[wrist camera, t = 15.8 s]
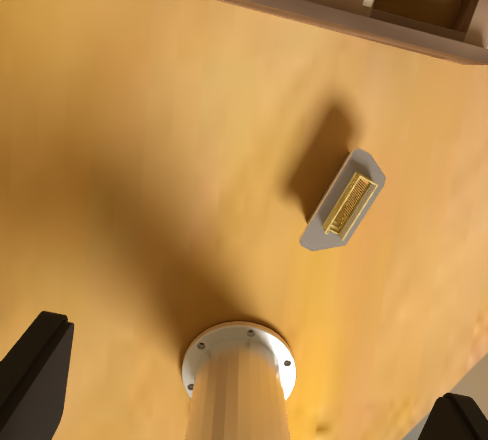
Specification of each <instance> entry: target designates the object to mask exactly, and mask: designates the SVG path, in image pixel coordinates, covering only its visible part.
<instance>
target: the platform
mask: <svg viewBox="0 0 488 440" xmlns="http://www.w3.org/2000/svg"><path fill="white" fill-rule="evenodd" d="M356 173H357V174H358V175H359V176H358V175H357V174H356ZM356 176H357V177H358V178H357V177H356ZM360 177H361V178H363V179H364V180H366V181H368V182H369V184H367V185H368V186H367V185H366V184H365V183H364V182H363V181H362V180H361V179H360ZM355 178H356V179H357V180H356V179H355ZM359 179H360V180H361V181H362V182H363V183H364V185H365V186H366V187H365V186H364V185H363V184H362V183H361V182H360V181H359ZM385 179H386V178H385V175H384V174H383V172H382V171H381V169H380V168H379V166H378V165H377V163H376V162H375V160H374V159H373V157H372V156H371V155H370V154H369V153H368V152H366V151H364V150H362V149H360V148H354V149H353V150H352V151H351V153H349V152H348V154H347V156H346V157H345V159H344V161H343V162H342V164H341V166H340V167H339V169H338V171H337V172H336V174H335V176H334V177H333V179H332V181H331V182H330V184H329V186H328V187H327V189H326V191H325V192H324V194H323V196H322V197H321V199H320V201H319V202H318V204H317V206H316V207H315V209H314V211H313V212H312V214H311V216H310V217H309V219H308V221H307V226H306V228H305V230H304V231H303V233H302V235H301V236H300V238H299V242H300V244H301V246H303V247H305V248H307V249H309V250H311V251H317V250H322V249H327V248H333V247H338V246H344V245H346V244H347V242H348V241H349V239H350V238H351V236H352V235H353V233H354V231H355V230H356V228H357V227H358V225H359V224H360V222H361V221H362V219H363V217H364V216H365V214H366V213H367V211H368V210H369V208H370V207H371V205H372V203H373V202H374V200H375V199H376V197H377V196H378V194H379V192H380V191H381V189H382V188H383V186H384V183H385ZM354 180H355V181H356V182H355V181H354ZM358 181H359V182H360V183H361V184H362V185H363V186H364V188H365V189H364V188H363V187H362V186H361V185H360V184H359V183H358ZM353 182H354V183H355V184H354V183H353ZM357 183H358V184H359V185H360V186H361V187H362V188H363V190H364V191H363V190H362V189H361V188H360V187H359V186H358V184H357ZM353 185H354V186H353ZM356 185H357V186H358V187H359V188H360V189H361V190H362V191H363V193H362V192H361V191H360V190H359V189H358V187H357V186H356ZM355 187H356V188H357V189H358V190H359V191H360V192H361V193H362V195H361V194H360V193H359V192H358V190H357V189H356V188H355ZM354 188H355V190H356V191H357V192H358V193H359V194H360V195H361V197H360V196H359V195H358V193H357V192H356V191H355V190H354ZM353 190H354V191H355V193H356V194H357V195H358V196H359V197H360V198H358V197H357V195H356V194H355V193H354V192H353ZM352 192H353V193H354V195H355V196H356V197H357V198H358V199H359V200H357V198H356V197H355V196H354V195H353V193H352ZM350 193H351V194H352V195H353V196H354V198H355V199H356V200H357V201H358V202H356V200H355V199H354V198H353V197H352V195H351V194H350ZM349 195H350V196H351V197H352V198H353V199H354V201H355V202H356V203H355V202H354V201H353V200H352V198H351V197H350V196H349ZM349 197H350V199H351V200H352V201H353V203H354V204H355V205H354V204H353V203H352V201H351V200H350V199H349ZM348 199H349V201H350V202H351V203H352V205H353V206H354V207H353V206H352V205H351V203H350V202H349V201H348ZM347 202H349V204H350V205H351V206H352V208H353V209H352V208H351V207H350V205H349V204H348V203H347ZM346 204H348V206H349V207H350V208H351V210H352V211H351V210H350V208H349V207H348V206H347V205H346ZM346 206H347V207H348V209H349V210H350V212H351V213H350V212H349V210H348V209H347V207H346ZM345 208H346V209H347V211H348V212H349V214H348V212H347V211H346V210H345ZM345 211H346V212H345ZM343 213H345V214H346V213H347V214H348V215H347V214H346V216H347V217H348V218H347V217H346V216H345V215H344V214H343ZM344 216H345V218H346V219H345V218H344ZM342 217H343V218H344V219H342ZM342 220H343V221H342ZM344 220H345V221H344ZM341 222H342V224H343V225H342V224H341ZM343 222H344V223H343ZM341 225H342V227H341ZM339 227H341V229H340V228H339ZM338 231H339V232H338Z"/></svg>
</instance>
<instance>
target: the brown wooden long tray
mask: <svg viewBox="0 0 488 440" xmlns="http://www.w3.org/2000/svg"><path fill="white" fill-rule="evenodd" d="M218 1H222V2H226V3H229V4H233V5H237V6H241V7H245V8H249V9H252V10H256V11H260V12H264V13H268V14H272V15H275V16H279V17H283V18H287V19H291V20H295V21H298V22H302V23H306V24H310V25H314V26H318V27H321V28H325V29H329V30H333V31H337V32H340V33H344V34H348V35H352V36H356V37H360V38H363V39H367V40H371V41H375V42H379V43H383V44H386V45H390V46H394V47H398V48H402V49H406V50H409V51H413V52H417V53H421V54H425V55H429V56H432V57H436V58H440V59H444V60H448V61H451V62H455V63H459V64H463V65H488V49H486V48H487V45H488V0H463V2H462V5H461V8H460V11H459V14H458V16H457V19H456V22H455V25H454V27H453V29H449V28H445V27H441V26H438V25H434V24H430V23H426V22H423V21H419V20H415V19H411V18H408V17H404V16H400V15H396V14H393V13H389V12H385V11H381V10H378V9H374V8H373V4H374V1H375V0H218Z"/></svg>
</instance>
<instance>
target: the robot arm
mask: <svg viewBox="0 0 488 440" xmlns="http://www.w3.org/2000/svg"><path fill="white" fill-rule="evenodd" d="M73 333H74V323H70V322H68V318H67V316H66V315H62V314H57V313H52V312H47V311H42V312H41V313H40V314H39V315H38V317H37V318H36V319H35V320H34V322H33V323H32V324H31V325H30V327H29V328H28V329H27V330H26V331H25V333H24V334H23V335H22V336H21V338H20V339H19V340H18V341H17V343H16V344H15V345H14V346H13V348H12V349H11V350H10V351H9V352H8V354H7V355H6V356H5V357H4V359H3V360H2V361H0V440H51V439H52V437H53V435H54V433H55V431H56V429H57V428H58V425H59V423H60V420H61V417H62V414H63V409H64V401H65V394H66V386H67V378H68V371H69V363H70V356H71V348H72V340H73ZM182 380H183V384H184V387H185V389H186V391H187V394H188V395H189V396H190V398H191V405H190V412H189V418H188V424H187V431H186V437H185V440H290V433H289V425H288V417H287V409H286V399H287V398H288V397H289V395H290V394H291V392H292V389H293V387H294V384H295V380H296V365H295V360H294V357H293V354H292V351H291V349H290V348H289V346H288V344H287V343H286V342H285V341H284V340H283V339H282V338H281V337H280V335H278V334H277V333H275V332H274V331H273V330H271V329H269V328H267V327H265V326H262V325H260V324H256V323H252V322H245V321H233V322H225V323H221V324H218V325H215V326H213V327H211V328H208V329H207V330H205V331H204V332H202V333H201V334H199V335H198V336H197V337H196V338H195V339H194V340H193V341H192V343H191V344H190V346H189V347H188V349H187V351H186V353H185V356H184V359H183V365H182ZM418 440H488V420H487V419H486V417H485V416H484V414H483V413H482V411H481V410H480V408H479V407H478V405H477V404H476V403H475V401H474V400H473V399H472V398H471V397H468V396H463V395H458V394H453V393H446V394H445V395H444V396H443V397H439V398H438V399H437V400H436V402H435V404H434V406H433V408H432V410H431V412H430V415H429V417H428V419H427V421H426V424H425V425H424V428H423V430H422V432H421V434H420V436H419V438H418Z"/></svg>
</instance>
